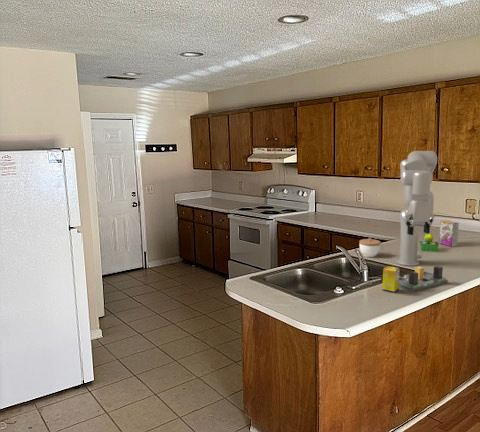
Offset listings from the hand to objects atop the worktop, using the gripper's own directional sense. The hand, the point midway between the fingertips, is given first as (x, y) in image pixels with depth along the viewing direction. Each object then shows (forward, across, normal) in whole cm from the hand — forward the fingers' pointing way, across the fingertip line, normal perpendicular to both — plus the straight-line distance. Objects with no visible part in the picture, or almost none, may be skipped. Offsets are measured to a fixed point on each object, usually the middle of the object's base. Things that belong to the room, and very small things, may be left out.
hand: (418, 233), depth 210 cm
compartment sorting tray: (+27, -7, -6) cm, 28 cm away
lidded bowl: (+26, -16, -58) cm, 65 cm away
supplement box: (+27, +13, -2) cm, 30 cm away
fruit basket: (+26, -59, -54) cm, 84 cm away
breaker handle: (+25, -7, -5) cm, 27 cm away
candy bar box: (+25, -81, -59) cm, 103 cm away
